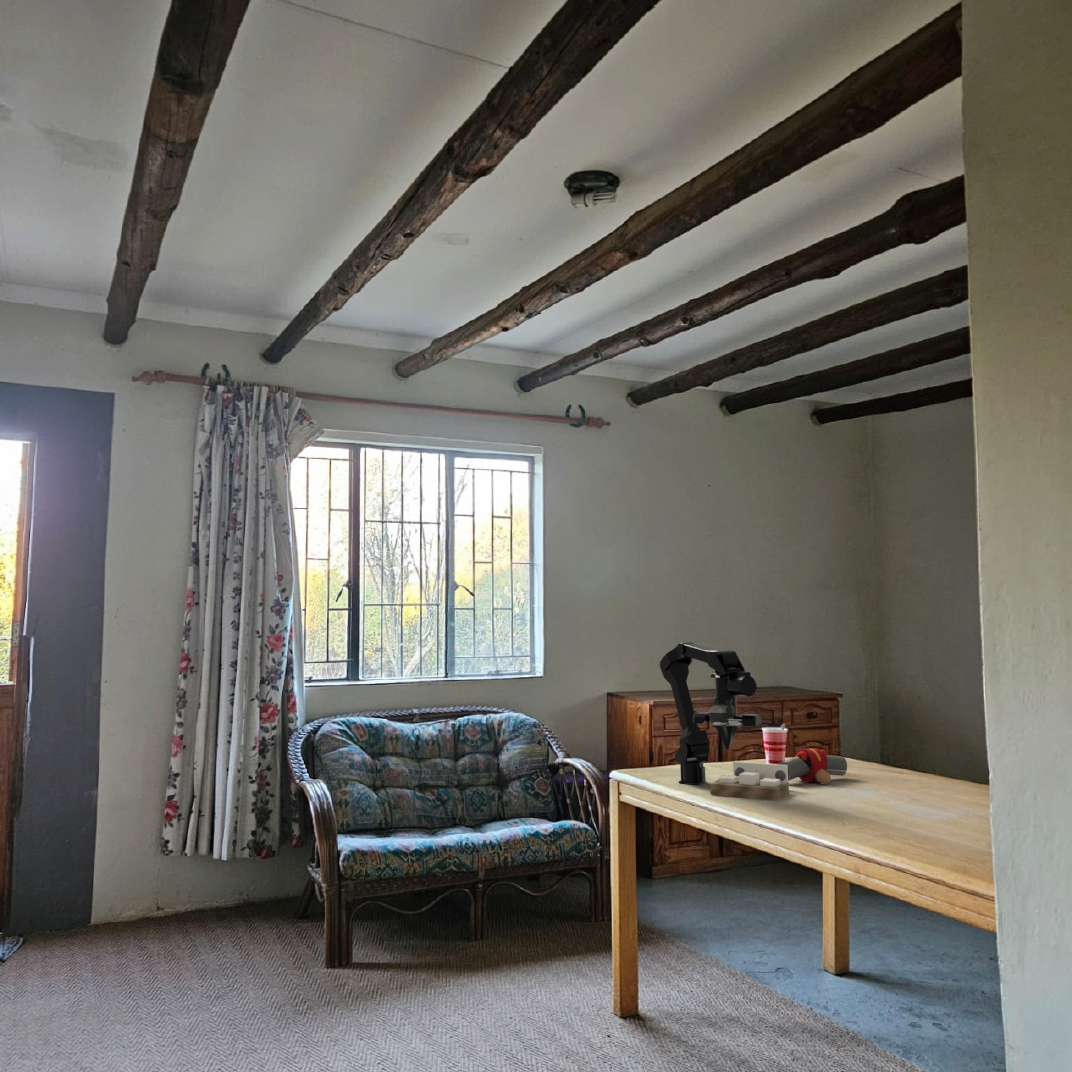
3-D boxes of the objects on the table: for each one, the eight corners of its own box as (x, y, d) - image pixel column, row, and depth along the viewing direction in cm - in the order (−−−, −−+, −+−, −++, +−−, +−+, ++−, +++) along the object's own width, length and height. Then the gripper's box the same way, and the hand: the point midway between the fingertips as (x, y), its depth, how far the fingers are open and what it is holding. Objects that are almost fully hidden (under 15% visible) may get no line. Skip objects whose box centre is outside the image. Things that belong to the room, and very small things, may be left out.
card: (733, 786, 270) (732, 761, 271) (734, 785, 271) (733, 761, 272) (787, 790, 262) (786, 765, 263) (788, 789, 263) (787, 765, 263)
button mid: (739, 788, 258) (738, 774, 258) (744, 786, 261) (744, 771, 262) (754, 790, 255) (754, 775, 256) (759, 787, 259) (759, 773, 259)
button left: (719, 791, 260) (718, 777, 261) (724, 789, 264) (724, 775, 265) (734, 793, 258) (733, 778, 259) (739, 790, 262) (738, 776, 262)
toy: (768, 788, 278) (800, 795, 264) (762, 753, 279) (794, 759, 265) (827, 770, 287) (861, 777, 273) (821, 737, 288) (854, 742, 274)
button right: (760, 795, 254) (760, 780, 255) (765, 792, 258) (764, 778, 258) (776, 796, 252) (775, 781, 252) (780, 793, 256) (780, 779, 256)
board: (710, 794, 258) (710, 783, 259) (724, 787, 268) (723, 777, 268) (777, 800, 248) (776, 789, 249) (789, 793, 258) (788, 782, 258)
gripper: (684, 695, 262) (686, 751, 261) (748, 697, 252) (750, 755, 251) (699, 692, 271) (701, 746, 270) (760, 694, 262) (763, 749, 260)
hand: (727, 749), depth 263 cm, fingers closed
